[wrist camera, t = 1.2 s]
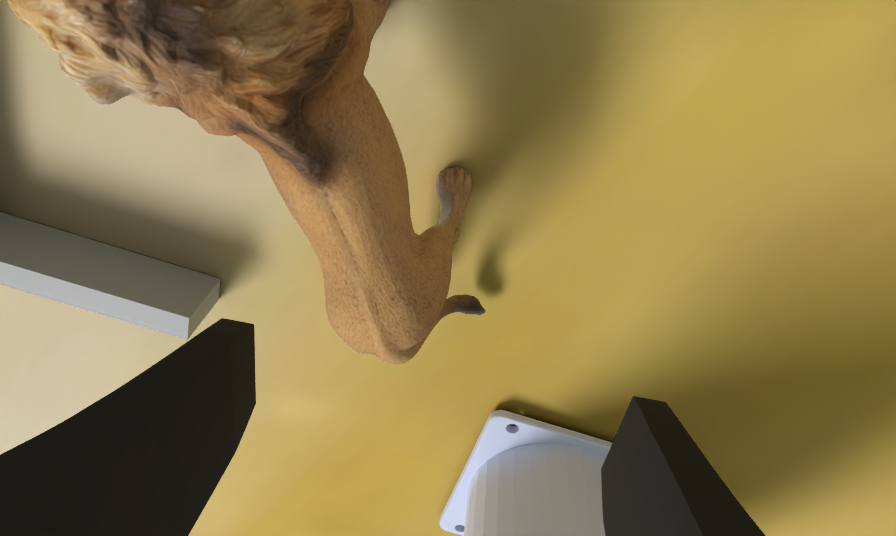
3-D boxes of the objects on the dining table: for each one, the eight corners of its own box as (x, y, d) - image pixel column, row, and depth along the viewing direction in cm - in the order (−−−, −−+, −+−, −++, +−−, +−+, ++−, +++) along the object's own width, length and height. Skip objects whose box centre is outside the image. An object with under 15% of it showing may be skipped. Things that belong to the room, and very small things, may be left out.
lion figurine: (157, -59, 16) (-161, -35, 9) (308, -179, 15) (77, -281, 7) (424, 327, 22) (376, 543, 15) (554, 275, 21) (576, 489, 13)
